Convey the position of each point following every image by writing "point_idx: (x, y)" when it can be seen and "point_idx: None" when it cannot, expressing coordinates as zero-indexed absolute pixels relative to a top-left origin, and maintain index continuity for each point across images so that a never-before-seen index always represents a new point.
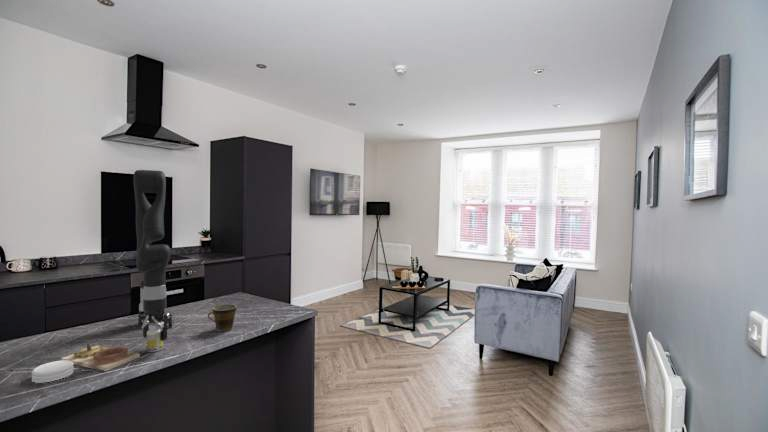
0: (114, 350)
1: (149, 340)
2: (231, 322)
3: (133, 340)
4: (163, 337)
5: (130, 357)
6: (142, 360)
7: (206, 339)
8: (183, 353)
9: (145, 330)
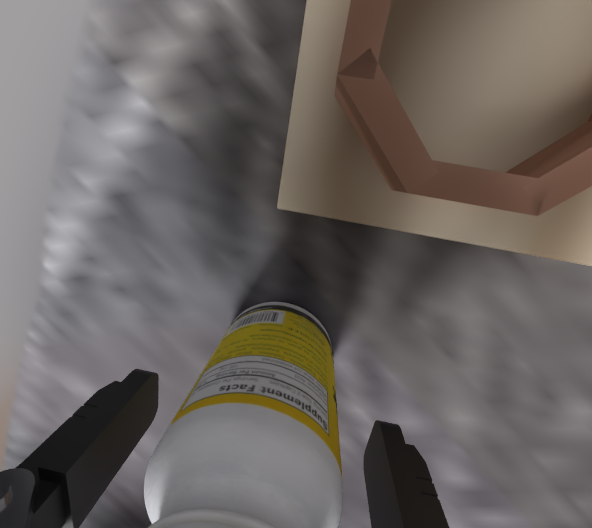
0: (558, 154)
1: (259, 357)
2: None
3: (571, 470)
4: (97, 398)
5: (292, 110)
6: (205, 149)
7: (104, 498)
8: (41, 312)
9: (396, 522)
